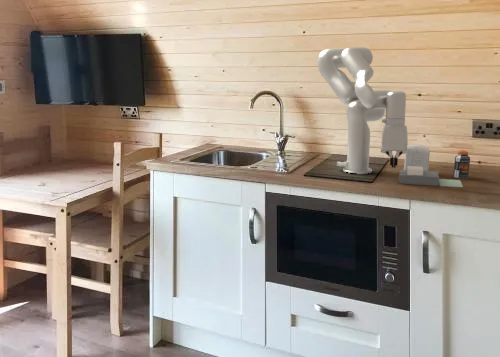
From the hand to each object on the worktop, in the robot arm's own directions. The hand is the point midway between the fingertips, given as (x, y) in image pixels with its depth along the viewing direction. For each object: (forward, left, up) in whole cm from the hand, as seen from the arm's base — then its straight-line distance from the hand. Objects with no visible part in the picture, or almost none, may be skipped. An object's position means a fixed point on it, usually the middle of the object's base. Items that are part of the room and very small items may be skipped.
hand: (393, 167), depth 217 cm
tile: (+9, 0, -2) cm, 9 cm away
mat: (+22, 0, -6) cm, 23 cm away
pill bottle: (+27, +14, -6) cm, 31 cm away
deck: (+10, 0, -6) cm, 11 cm away
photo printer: (+9, +19, -6) cm, 22 cm away
